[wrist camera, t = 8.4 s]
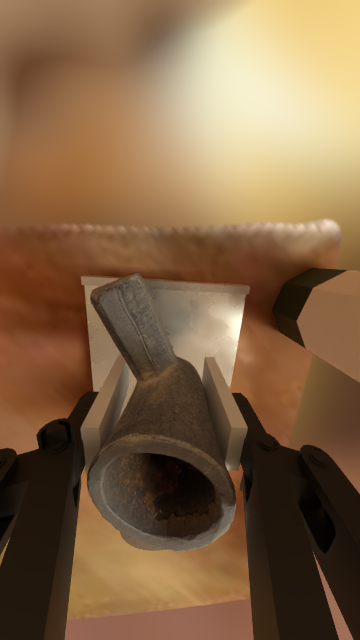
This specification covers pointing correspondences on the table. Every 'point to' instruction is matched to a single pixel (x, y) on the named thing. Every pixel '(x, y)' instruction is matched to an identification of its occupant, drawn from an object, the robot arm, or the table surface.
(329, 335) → the wine bottle
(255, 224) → the table surface
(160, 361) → the pipe
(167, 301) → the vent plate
